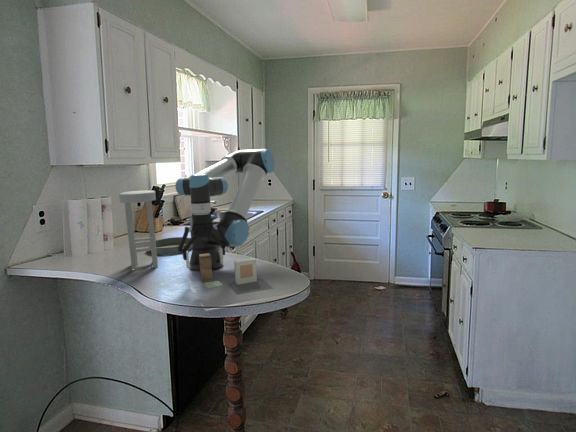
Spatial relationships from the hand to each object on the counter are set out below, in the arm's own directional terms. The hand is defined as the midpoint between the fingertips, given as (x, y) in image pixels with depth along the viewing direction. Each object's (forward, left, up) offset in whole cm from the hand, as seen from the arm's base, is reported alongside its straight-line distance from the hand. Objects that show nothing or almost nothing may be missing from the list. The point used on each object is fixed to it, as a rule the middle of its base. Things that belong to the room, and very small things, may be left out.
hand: (205, 265), depth 167 cm
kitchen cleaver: (-62, +22, -7) cm, 67 cm away
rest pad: (+8, +1, -7) cm, 10 cm away
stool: (-38, -22, -7) cm, 44 cm away
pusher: (0, 0, -7) cm, 7 cm away
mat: (+15, +14, -7) cm, 22 cm away
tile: (+11, +14, -6) cm, 19 cm away
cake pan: (-65, -7, -7) cm, 66 cm away
